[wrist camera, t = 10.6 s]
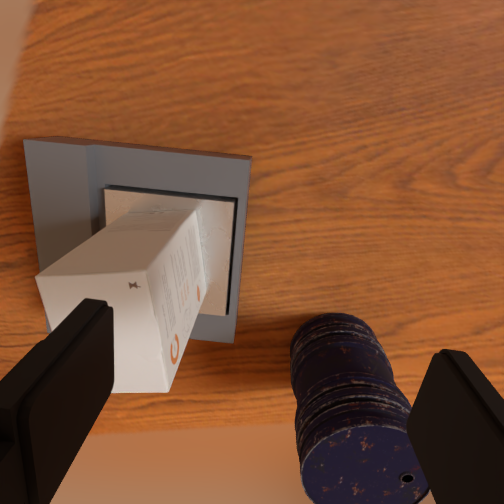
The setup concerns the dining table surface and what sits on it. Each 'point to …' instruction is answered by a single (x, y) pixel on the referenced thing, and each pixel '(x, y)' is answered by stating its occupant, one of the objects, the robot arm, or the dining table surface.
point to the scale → (135, 175)
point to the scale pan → (209, 224)
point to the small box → (136, 292)
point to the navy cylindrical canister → (351, 417)
